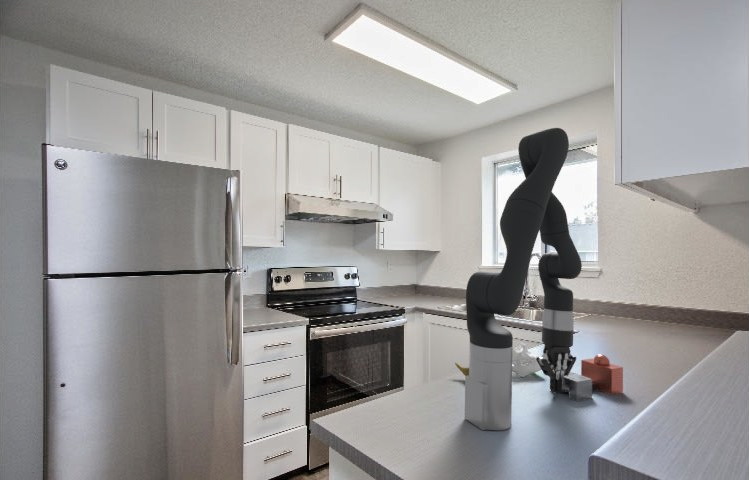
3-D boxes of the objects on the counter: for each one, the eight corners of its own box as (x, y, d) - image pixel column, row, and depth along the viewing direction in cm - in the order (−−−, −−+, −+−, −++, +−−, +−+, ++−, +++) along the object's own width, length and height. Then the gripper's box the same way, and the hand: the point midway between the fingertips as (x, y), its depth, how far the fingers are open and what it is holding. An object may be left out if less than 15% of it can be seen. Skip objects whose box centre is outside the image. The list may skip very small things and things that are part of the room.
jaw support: (541, 372, 108) (516, 344, 113) (518, 390, 111) (495, 362, 116) (551, 363, 118) (527, 338, 123) (530, 380, 121) (508, 355, 126)
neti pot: (497, 392, 100) (497, 367, 101) (450, 377, 111) (451, 355, 111) (504, 388, 103) (505, 364, 104) (458, 374, 114) (459, 353, 114)
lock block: (576, 401, 95) (576, 381, 96) (550, 390, 103) (550, 372, 103) (591, 398, 98) (592, 379, 98) (565, 387, 105) (565, 370, 105)
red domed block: (597, 398, 98) (597, 361, 98) (567, 386, 106) (567, 353, 106) (622, 392, 102) (622, 358, 103) (592, 382, 111) (592, 350, 111)
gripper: (552, 330, 93) (549, 400, 92) (587, 328, 98) (585, 394, 97) (528, 324, 99) (526, 389, 99) (562, 323, 105) (560, 385, 104)
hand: (555, 392), depth 98 cm, fingers closed
